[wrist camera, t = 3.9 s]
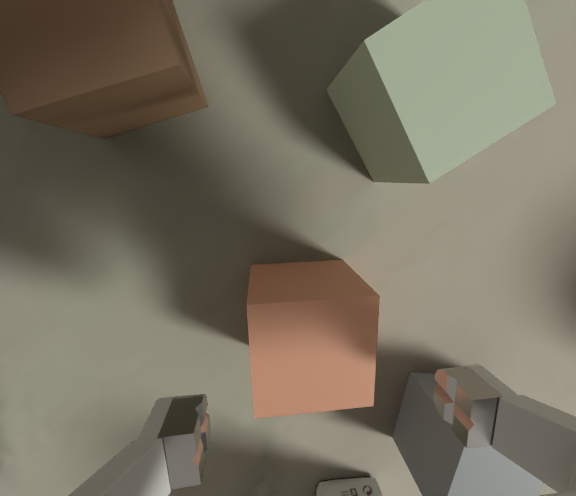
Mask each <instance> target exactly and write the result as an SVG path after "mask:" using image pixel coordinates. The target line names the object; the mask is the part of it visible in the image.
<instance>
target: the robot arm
mask: <svg viewBox="0 0 576 496" xmlns="http://www.w3.org/2000/svg"><path fill="white" fill-rule="evenodd" d="M435 380H436V382H437V383H438V385H437V386H436V388H435V389H434V394H433V399H434V403H435V407H436V409H437V411H438V413H439V414H440V416H441V417H442V418H443V420H445V421H447V422H449V423H450V424H452V431H453V432H454V434H455V435H456V436H457V437H458V439H459V440H460V441H461V442H462V444H463V445H464V446H465V447H466V449H468V448H478V447H488V446H492V448H493V449H495V450H496V451H498V452H499V453H501V454H502V455H504V456H505V457H507V458H508V459H509V460H511V461H512V462H514V463H515V464H517V465H518V466H520V467H521V468H523V469H524V470H526V471H527V472H529V473H530V474H532V475H533V476H534V477H536V478H537V479H539V480H540V481H542V482H543V483H545V484H546V485H548V486H549V487H551V488H552V489H554V490H555V491H557V492H558V493H554V494H547V495H541V496H576V417H575V416H573V415H570V414H568V413H565V412H563V411H561V410H558V409H556V408H553V407H551V406H548V405H546V404H543V403H541V402H538V401H536V400H534V399H531V398H529V397H526V396H524V395H519V396H518V395H517V394H516V393H515V392H514V391H512V390H511V389H510V388H509V387H507V386H506V385H505V384H504V383H502V382H501V381H500V380H499V379H498V378H496V377H495V376H494V375H493V374H491V373H490V372H489V371H488V370H486V369H485V368H484V367H483V366H481V365H478V364H475V365H467V366H463V367H454V368H445V369H437V371H436V373H435ZM207 405H208V403H207V396H206V395H205V394H199V395H187V396H175V397H166V398H159V399H158V400H157V401H156V402H155V404H154V407H153V409H152V411H151V413H150V415H149V417H148V419H147V421H146V424H145V426H144V428H143V430H142V432H141V434H140V436H139V438H138V441H133V442H131V443H130V444H129V445H128V446H127V447H125V448H124V449H123V450H122V451H121V452H119V453H118V454H117V455H116V456H115V457H114V458H112V459H111V460H110V461H109V462H108V463H106V464H105V465H104V466H103V467H102V468H101V469H99V470H98V471H97V472H96V473H95V474H93V475H92V476H91V477H90V478H89V479H88V480H86V481H85V482H84V483H83V484H82V485H80V486H79V487H78V488H77V489H76V490H75V491H73V492H72V493H71V494H70V495H69V496H168V495H169V494H170V492H171V489H177V488H183V487H189V486H195V485H201V482H202V476H203V471H204V466H205V457H204V453H205V451H206V450H207V449H208V445H209V437H210V419H209V415H208V414H207V413H206V410H207Z"/></svg>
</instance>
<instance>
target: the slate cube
mask: <svg viewBox="0 0 576 496" xmlns="http://www.w3.org/2000/svg"><path fill="white" fill-rule="evenodd" d="M437 385H438V383H437V382H436V380H435V374H434V373H417V372H410V374H409V378H408V382H407V385H406V389H405V393H404V396H403V400H402V404H401V408H400V411H399V415H398V419H397V422H396V426H395V430H394V433H393V439H394V441H395V443H396V445H397V447H398V449H399V451H400V453H401V455H402V457H403V459H404V461H405V463H406V464H407V466H408V468H409V470H410V472H411V474H412V476H413V478H414V480H415V482H416V484H417V486H418V488H419V490H420V492H421V494H422V496H538V494H539V492H540V490H541V488H542V485H543V482H542V481H540V480H539V479H537V478H536V477H534V476H533V475H532V474H530V473H529V472H527V471H526V470H524V469H523V468H521V467H520V466H518V465H517V464H515V463H514V462H512V461H511V460H509V459H508V458H507V457H505V456H504V455H502V454H501V453H499V452H498V451H496V450H495V449H493V448H492V446H488V447H478V448H468V449H466V447H465V446H464V445H463V444H462V442H461V441H460V440H459V439H458V437H457V436H456V435H455V434H454V432H453V431H452V424H450V423H449V422H447V421H445V420H443V418H442V417H441V416H440V414H439V413H438V411H437V409H436V407H435V403H434V399H433V394H434V389H435V388H436V386H437Z"/></svg>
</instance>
